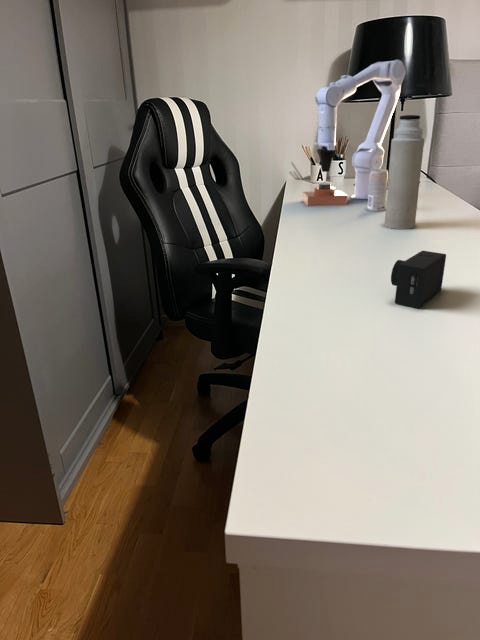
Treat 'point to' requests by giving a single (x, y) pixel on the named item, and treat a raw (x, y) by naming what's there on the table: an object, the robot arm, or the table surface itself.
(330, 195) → the orange stepped block
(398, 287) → the digital camera
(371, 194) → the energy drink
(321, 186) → the lid button
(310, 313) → the table surface
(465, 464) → the table surface
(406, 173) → the thermos bottle
